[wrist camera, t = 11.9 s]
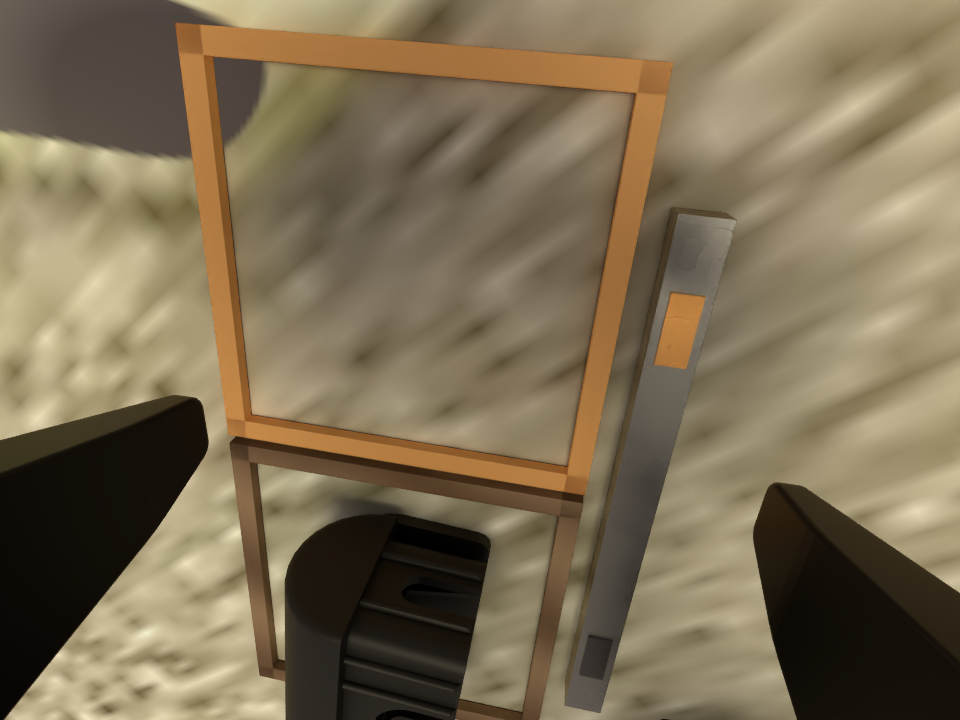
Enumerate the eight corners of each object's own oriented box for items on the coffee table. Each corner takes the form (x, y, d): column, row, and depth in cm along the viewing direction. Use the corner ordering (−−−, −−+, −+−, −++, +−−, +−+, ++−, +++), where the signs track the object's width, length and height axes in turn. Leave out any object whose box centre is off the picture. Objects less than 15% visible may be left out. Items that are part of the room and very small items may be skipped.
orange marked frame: (584, 487, 21) (584, 495, 21) (235, 428, 23) (228, 434, 23) (670, 63, 15) (673, 62, 15) (185, 24, 17) (175, 22, 16)
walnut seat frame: (536, 726, 28) (535, 736, 27) (264, 667, 29) (259, 675, 29) (583, 495, 22) (583, 503, 21) (236, 436, 23) (229, 442, 23)
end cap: (334, 487, 24) (249, 617, 18) (495, 525, 23) (464, 673, 17) (327, 643, 28) (257, 791, 22) (463, 678, 27) (429, 840, 21)
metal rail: (599, 687, 26) (600, 715, 25) (565, 680, 26) (564, 707, 25) (726, 213, 17) (737, 220, 15) (672, 207, 17) (679, 214, 16)
